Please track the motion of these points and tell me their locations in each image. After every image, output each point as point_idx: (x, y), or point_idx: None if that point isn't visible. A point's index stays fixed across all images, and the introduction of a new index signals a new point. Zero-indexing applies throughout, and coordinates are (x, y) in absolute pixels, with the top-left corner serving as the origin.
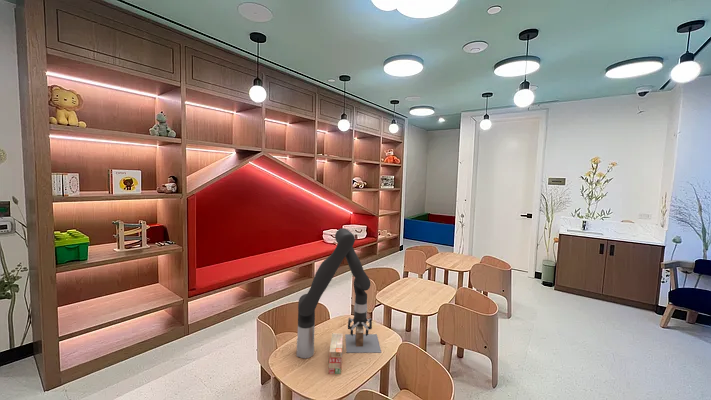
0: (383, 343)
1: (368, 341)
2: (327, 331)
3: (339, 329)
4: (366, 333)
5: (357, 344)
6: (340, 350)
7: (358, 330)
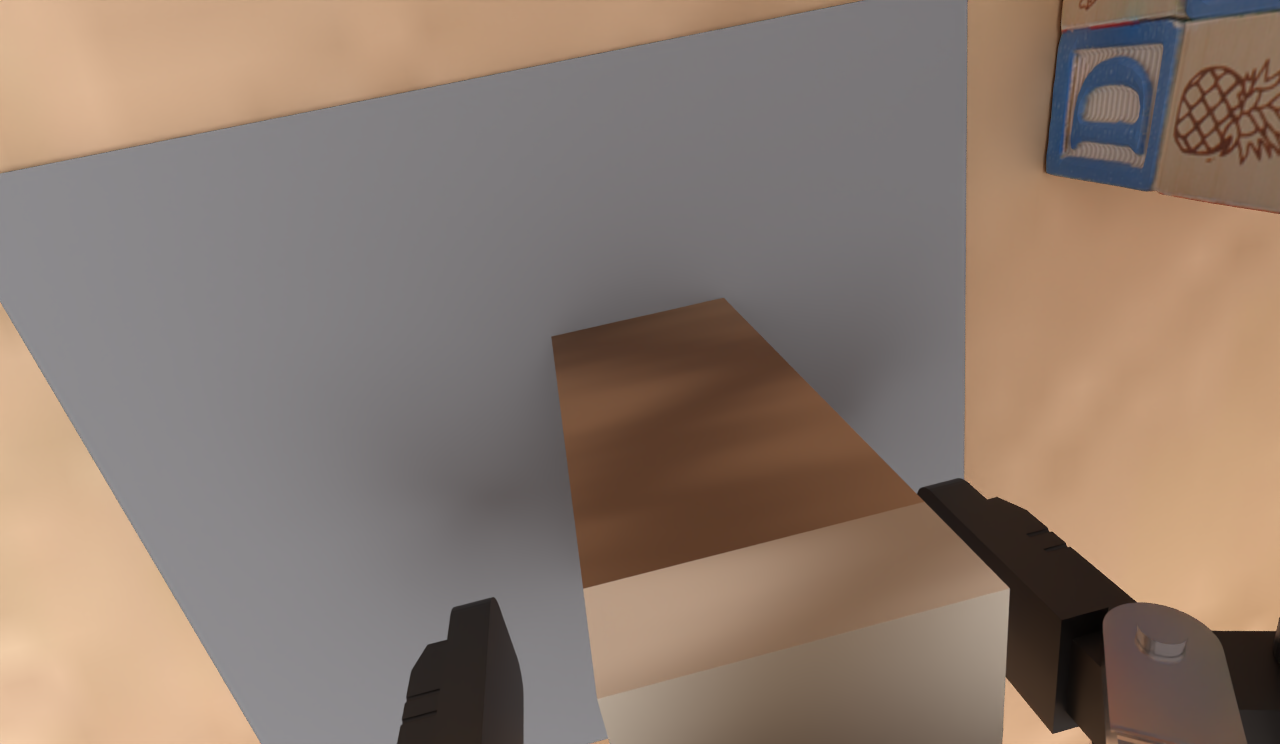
0: (49, 588)
1: (443, 552)
2: (1255, 629)
3: (1046, 734)
4: (472, 668)
5: (705, 320)
6: None
7: (909, 605)
